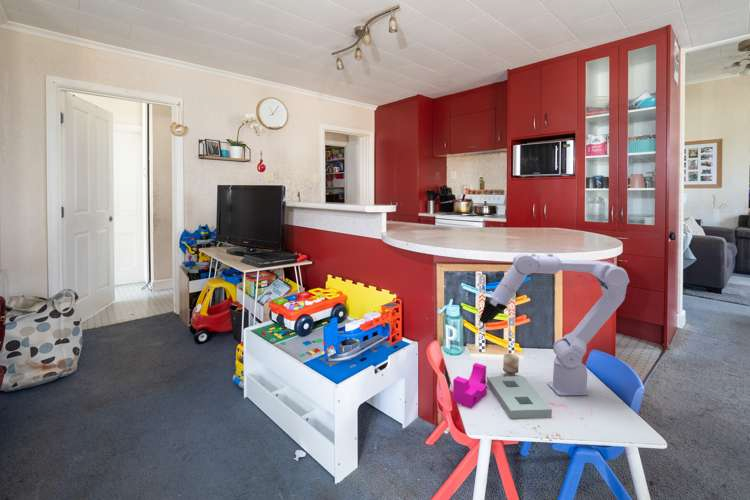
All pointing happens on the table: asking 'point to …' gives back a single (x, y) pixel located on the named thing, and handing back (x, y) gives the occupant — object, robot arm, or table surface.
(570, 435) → the table surface
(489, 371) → the table surface
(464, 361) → the table surface
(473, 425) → the table surface
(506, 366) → the beige rounded lump
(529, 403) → the board
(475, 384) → the toy block
